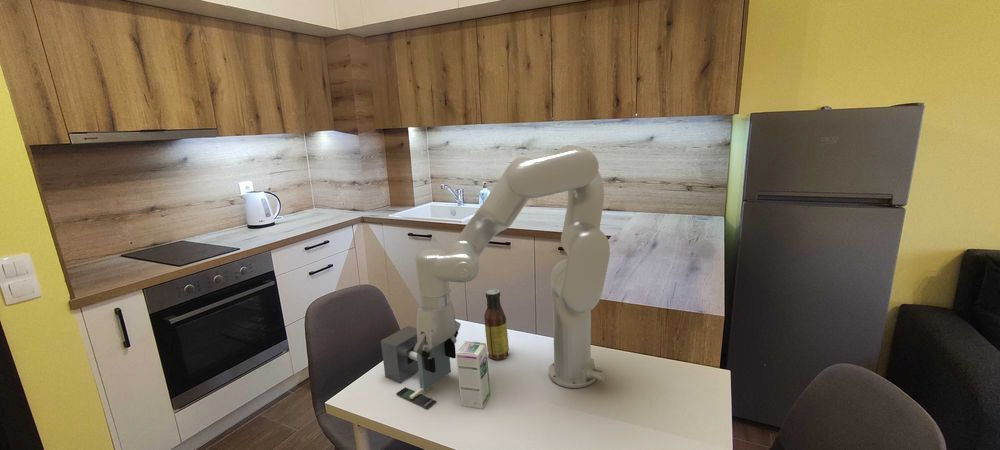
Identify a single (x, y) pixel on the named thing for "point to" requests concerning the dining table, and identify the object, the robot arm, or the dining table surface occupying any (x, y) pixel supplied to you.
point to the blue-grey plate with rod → (426, 376)
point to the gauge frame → (403, 363)
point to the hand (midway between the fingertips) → (440, 363)
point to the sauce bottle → (495, 326)
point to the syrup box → (473, 374)
